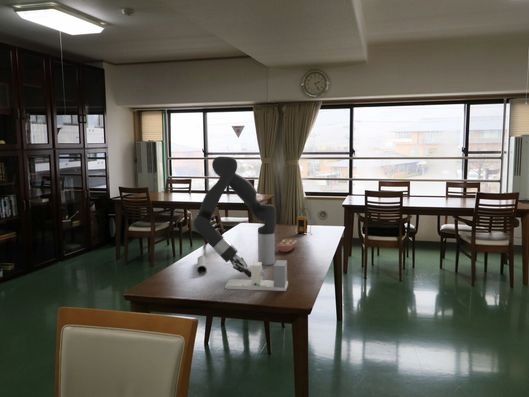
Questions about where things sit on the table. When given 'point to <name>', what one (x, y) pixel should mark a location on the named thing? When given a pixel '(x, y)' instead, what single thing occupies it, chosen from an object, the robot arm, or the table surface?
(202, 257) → the tube
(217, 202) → the robot arm
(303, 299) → the table surface
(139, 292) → the table surface
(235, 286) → the base
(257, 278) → the block
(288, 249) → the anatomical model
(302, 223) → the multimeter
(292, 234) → the table surface
